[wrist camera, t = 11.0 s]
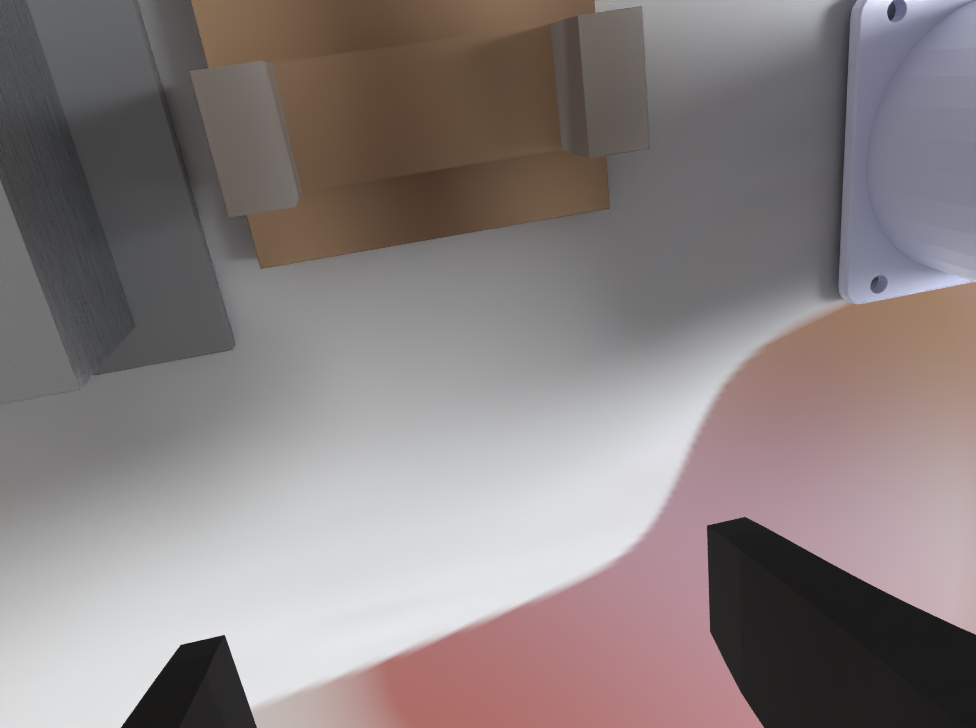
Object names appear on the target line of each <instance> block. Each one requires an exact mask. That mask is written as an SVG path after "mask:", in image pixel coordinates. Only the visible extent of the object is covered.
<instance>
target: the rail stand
mask: <svg viewBox="0 0 976 728" xmlns="http://www.w3.org/2000/svg"><path fill="white" fill-rule="evenodd" d="M191 3H192V7H193V11H194V15H195V19H196V23H197V26H198V30H199V34H200V38H201V42H202V46H203V49H204V53H205V57H206V61H207V65H208V68H206V69H199V70H192V71H189V72H190V76H191V80H192V83H193V87H194V91H195V95H196V98H197V102H198V106H199V109H200V113H201V117H202V121H203V124H204V128H205V132H206V135H207V139H208V143H209V147H210V150H211V154H212V158H213V161H214V165H215V169H216V172H217V176H218V180H219V184H220V187H221V191H222V195H223V198H224V202H225V206H226V210H227V213H228V217H229V218H232V217H238V216H245V215H247V219H248V222H249V226H250V230H251V234H252V238H253V242H254V245H255V249H256V253H257V257H258V261H259V265H260V269H263V268H269V267H275V266H280V265H286V264H292V263H298V262H303V261H309V260H315V259H321V258H326V257H332V256H338V255H344V254H349V253H355V252H361V251H367V250H372V249H378V248H384V247H390V246H395V245H401V244H407V243H413V242H418V241H424V240H430V239H436V238H441V237H447V236H453V235H459V234H465V233H470V232H476V231H482V230H488V229H493V228H499V227H505V226H511V225H516V224H522V223H528V222H534V221H539V220H545V219H551V218H557V217H562V216H568V215H574V214H580V213H585V212H591V211H597V210H603V209H608V208H610V206H609V193H608V179H607V166H606V156H607V155H613V154H619V153H625V152H631V151H638V150H644V149H649V133H648V113H647V94H646V75H645V56H644V37H643V18H642V6H640V7H633V8H626V9H619V10H612V11H605V12H598V13H595V4H594V0H191Z"/></svg>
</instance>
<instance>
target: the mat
mask: <svg viewBox="0 0 976 728" xmlns="http://www.w3.org/2000/svg"><path fill="white" fill-rule="evenodd" d="M26 1H27V4H28V7H29V10H30V13H31V16H32V19H33V22H34V25H35V28H36V31H37V34H38V37H39V40H40V42H41V45H42V48H43V51H44V54H45V57H46V60H47V63H48V66H49V69H50V72H51V75H52V78H53V81H54V84H55V87H56V90H57V93H58V96H59V99H60V102H61V105H62V108H63V111H64V114H65V117H66V120H67V123H68V126H69V129H70V132H71V135H72V138H73V141H74V144H75V147H76V150H77V153H78V156H79V159H80V162H81V165H82V168H83V170H84V173H85V176H86V179H87V182H88V185H89V188H90V191H91V194H92V197H93V200H94V203H95V206H96V209H97V212H98V215H99V218H100V221H101V224H102V227H103V230H104V233H105V236H106V239H107V242H108V245H109V248H110V251H111V254H112V257H113V260H114V263H115V266H116V269H117V272H118V275H119V278H120V281H121V284H122V287H123V290H124V293H125V296H126V298H127V301H128V304H129V307H130V310H131V313H132V316H133V319H134V322H135V325H136V326H135V327H134V328H133V330H132V331H131V332H130V333H129V334H128V335H127V336H126V338H125V339H124V340H123V341H122V342H121V343H120V344H119V346H118V347H117V348H116V349H115V350H114V351H113V352H112V354H111V355H110V356H109V357H108V358H107V359H106V360H105V361H104V363H103V364H102V365H101V366H100V367H99V368H98V369H97V371H96V372H95V373H94V374H93V375H99V374H104V373H109V372H115V371H120V370H126V369H131V368H136V367H142V366H147V365H153V364H158V363H163V362H169V361H174V360H180V359H185V358H191V357H196V356H201V355H207V354H212V353H218V352H223V351H228V350H233V348H234V346H235V343H234V339H233V336H232V332H231V329H230V325H229V321H228V318H227V314H226V311H225V307H224V304H223V300H222V297H221V293H220V290H219V286H218V283H217V279H216V276H215V272H214V269H213V265H212V262H211V258H210V255H209V251H208V248H207V244H206V241H205V237H204V234H203V230H202V227H201V223H200V220H199V216H198V213H197V209H196V206H195V202H194V199H193V195H192V192H191V188H190V185H189V181H188V178H187V174H186V171H185V167H184V164H183V160H182V157H181V153H180V150H179V146H178V143H177V139H176V136H175V132H174V128H173V125H172V121H171V118H170V114H169V111H168V107H167V104H166V100H165V97H164V93H163V90H162V86H161V83H160V79H159V76H158V72H157V69H156V65H155V62H154V58H153V55H152V51H151V48H150V44H149V41H148V37H147V34H146V30H145V27H144V23H143V20H142V16H141V13H140V9H139V6H138V2H137V0H26ZM93 375H92V376H93Z"/></svg>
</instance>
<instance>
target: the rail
mask: <svg viewBox="0 0 976 728" xmlns="http://www.w3.org/2000/svg"><path fill="white" fill-rule="evenodd" d="M135 326H136V325H135V322H134V319H133V316H132V313H131V310H130V307H129V304H128V301H127V298H126V296H125V293H124V290H123V287H122V284H121V281H120V278H119V275H118V272H117V269H116V266H115V263H114V260H113V257H112V254H111V251H110V248H109V245H108V242H107V239H106V236H105V233H104V230H103V227H102V224H101V221H100V218H99V215H98V212H97V209H96V206H95V203H94V200H93V197H92V194H91V191H90V188H89V185H88V182H87V179H86V176H85V173H84V170H83V168H82V165H81V162H80V159H79V156H78V153H77V150H76V147H75V144H74V141H73V138H72V135H71V132H70V129H69V126H68V123H67V120H66V117H65V114H64V111H63V108H62V105H61V102H60V99H59V96H58V93H57V90H56V87H55V84H54V81H53V78H52V75H51V72H50V69H49V66H48V63H47V60H46V57H45V54H44V51H43V48H42V45H41V42H40V40H39V37H38V34H37V31H36V28H35V25H34V22H33V19H32V16H31V13H30V10H29V7H28V4H27V1H26V0H0V404H5V403H11V402H16V401H21V400H27V399H32V398H37V397H43V396H48V395H53V394H59V393H64V392H69V391H75V390H80V389H81V388H82V387H83V385H84V384H85V383H86V382H87V381H88V380H89V379H90V377H91V376H92V375H93V374H94V373H95V372H96V371H97V369H98V368H99V367H100V366H101V365H102V364H103V363H104V361H105V360H106V359H107V358H108V357H109V356H110V355H111V354H112V352H113V351H114V350H115V349H116V348H117V347H118V346H119V344H120V343H121V342H122V341H123V340H124V339H125V338H126V336H127V335H128V334H129V333H130V332H131V331H132V330H133V328H134V327H135Z"/></svg>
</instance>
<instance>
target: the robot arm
mask: <svg viewBox="0 0 976 728" xmlns="http://www.w3.org/2000/svg"><path fill="white" fill-rule="evenodd" d="M891 2H893V3H894V4H895V7H896V12H895V16H894V18H893V19H892V20H891V21H890V20H889V19H888V15H887V10H888V6H889V5H890V3H891ZM877 276H878V283H877V285H876V286H875V287H874V288H872V289H871V288H870V285H871V282H872V280H873V279H874V278H875V277H877ZM970 282H976V0H857V1H856V3H855V5H854V6H853V8H852V12H851V17H850V39H849V62H848V84H847V107H846V129H845V152H844V175H843V197H842V220H841V243H840V265H839V294H840V295H841V297H842V298H843V299H845V300H847V301H849V302H851V303H853V304H864V303H868V302H874V301H879V300H884V299H889V298H894V297H899V296H904V295H909V294H914V293H919V292H924V291H930V290H935V289H940V288H945V287H950V286H955V285H960V284H965V283H970ZM707 537H708V570H709V605H710V632H711V634H712V636H713V638H714V640H715V642H716V644H717V646H718V648H719V650H720V652H721V654H722V656H723V659H724V661H725V662H726V665H727V667H728V668H729V670H730V672H731V674H732V676H733V678H734V680H735V682H736V684H737V685H738V687H739V689H740V691H741V693H742V695H743V696H744V698H745V699H746V701H747V702H748V704H749V705H750V707H751V709H752V710H753V712H754V713H755V715H756V716H757V717H758V719H759V721H760V722H761V724H762V725H763V727H764V728H976V635H975V634H973V633H971V632H968V631H966V630H964V629H961V628H959V627H957V626H955V625H953V624H950V623H948V622H946V621H944V620H942V619H940V618H938V617H935V616H933V615H931V614H929V613H927V612H925V611H923V610H921V609H918V608H916V607H914V606H912V605H910V604H908V603H906V602H904V601H902V600H900V599H898V598H896V597H894V596H892V595H890V594H888V593H886V592H884V591H882V590H880V589H878V588H876V587H874V586H872V585H870V584H868V583H866V582H864V581H862V580H861V579H858V578H857V577H855V576H853V575H851V574H849V573H847V572H846V571H844V570H842V569H840V568H838V567H836V566H834V565H833V564H831V563H829V562H827V561H825V560H823V559H822V558H820V557H818V556H816V555H814V554H813V553H811V552H808V551H807V550H805V549H803V548H802V547H800V546H798V545H796V544H794V543H793V542H791V541H789V540H787V539H785V538H784V537H782V536H780V535H778V534H776V533H775V532H773V531H771V530H769V529H767V528H765V527H763V526H762V525H759V524H758V523H756V522H754V521H752V520H750V519H748V518H746V517H743V518H739V519H734V520H730V521H725V522H721V523H717V524H712V525H708V526H707ZM121 728H257V727H256V724H255V721H254V718H253V715H252V712H251V710H250V707H249V704H248V701H247V698H246V695H245V692H244V689H243V686H242V684H241V681H240V678H239V675H238V672H237V669H236V666H235V663H234V660H233V658H232V655H231V652H230V649H229V646H228V643H227V640H226V637H225V635H223V636H218V637H214V638H209V639H205V640H201V641H196V642H192V643H187V644H183V645H180V647H179V648H178V649H177V651H176V652H175V653H174V655H173V656H172V658H171V659H170V660H169V662H168V663H167V664H166V666H165V667H164V668H163V670H162V671H161V673H160V674H159V675H158V677H157V678H156V679H155V681H154V682H153V684H152V685H151V686H150V688H149V689H148V691H147V692H146V693H145V695H144V696H143V698H142V699H141V700H140V702H139V703H138V705H137V706H136V707H135V709H134V710H133V712H132V713H131V714H130V716H129V717H128V719H127V720H126V721H125V723H124V724H123V726H122V727H121Z"/></svg>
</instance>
